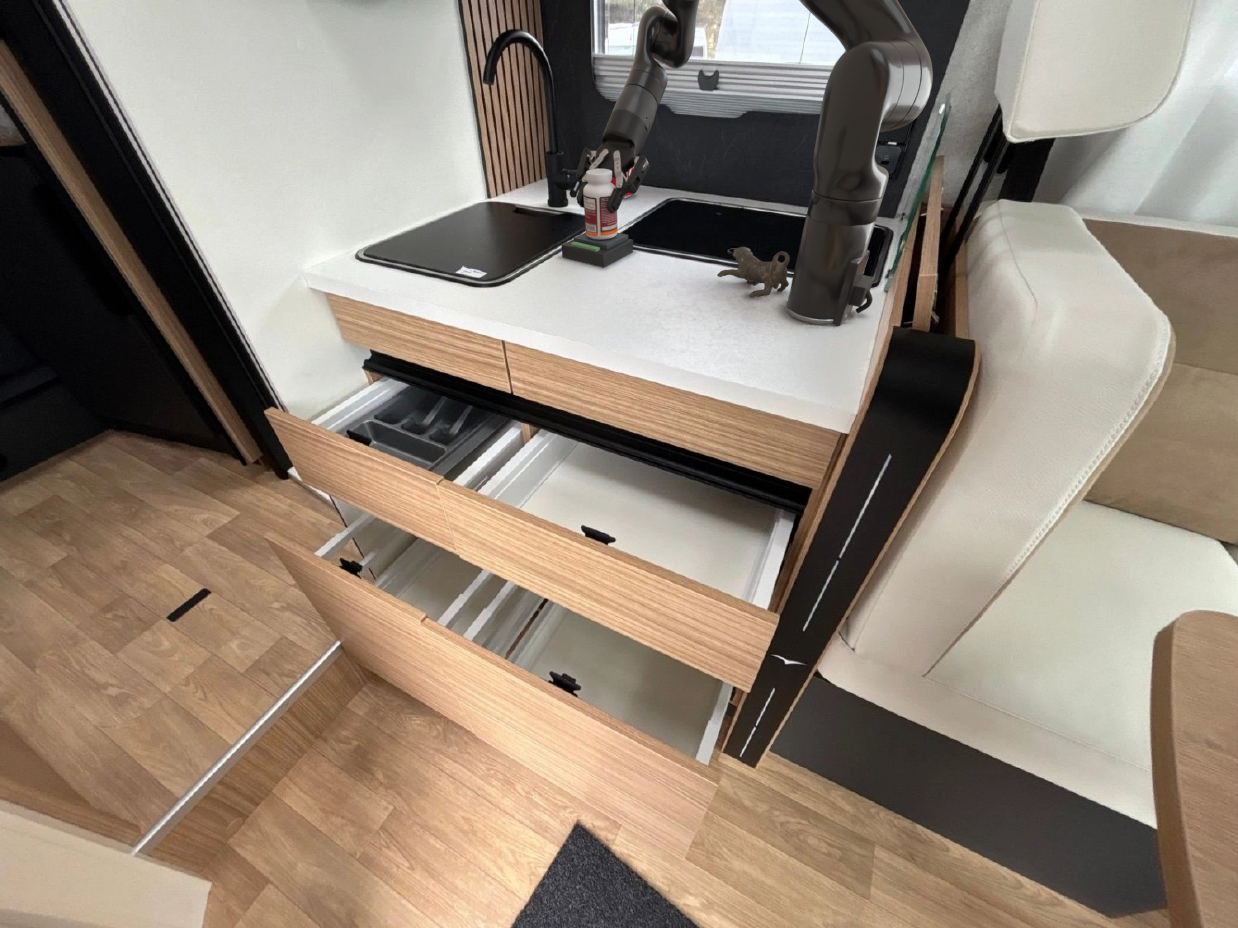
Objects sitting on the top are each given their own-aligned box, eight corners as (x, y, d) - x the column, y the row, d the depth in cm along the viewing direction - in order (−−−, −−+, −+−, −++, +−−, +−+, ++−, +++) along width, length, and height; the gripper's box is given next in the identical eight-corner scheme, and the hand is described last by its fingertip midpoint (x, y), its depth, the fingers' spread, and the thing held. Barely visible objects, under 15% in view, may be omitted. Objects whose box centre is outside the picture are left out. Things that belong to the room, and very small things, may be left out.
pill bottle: (618, 230, 102) (617, 167, 95) (616, 240, 97) (615, 175, 90) (587, 230, 102) (584, 167, 95) (583, 240, 98) (580, 175, 90)
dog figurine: (791, 295, 86) (801, 250, 81) (770, 305, 83) (779, 258, 78) (736, 274, 93) (742, 231, 88) (714, 283, 90) (719, 239, 85)
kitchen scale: (633, 252, 102) (633, 235, 100) (603, 268, 96) (603, 250, 94) (592, 243, 106) (591, 226, 104) (562, 257, 100) (560, 240, 98)
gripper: (589, 104, 94) (554, 190, 95) (657, 110, 88) (619, 202, 89) (607, 134, 101) (574, 213, 102) (670, 141, 95) (635, 226, 96)
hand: (595, 207), depth 95 cm, fingers closed on pill bottle, 6 cm apart
